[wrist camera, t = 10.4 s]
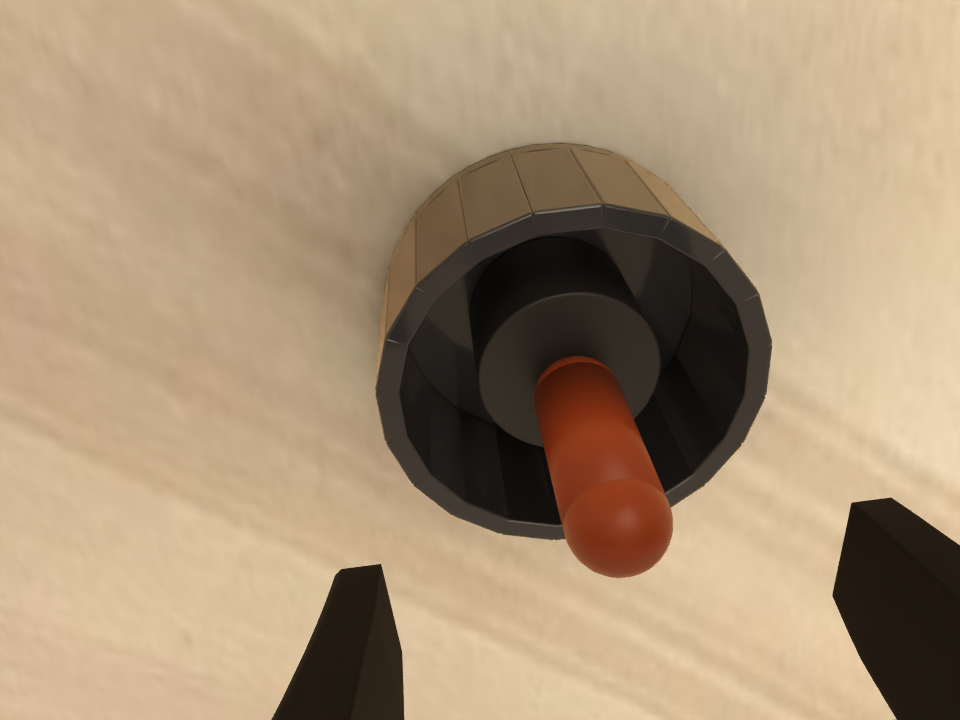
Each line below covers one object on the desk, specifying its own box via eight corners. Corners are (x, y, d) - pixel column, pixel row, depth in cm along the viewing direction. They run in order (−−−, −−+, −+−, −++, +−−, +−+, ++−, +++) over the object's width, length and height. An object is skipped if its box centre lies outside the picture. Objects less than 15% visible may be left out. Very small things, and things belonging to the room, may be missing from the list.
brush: (477, 388, 20) (512, 660, 13) (460, 247, 18) (490, 478, 11) (628, 369, 20) (746, 630, 13) (628, 227, 18) (770, 444, 11)
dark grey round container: (410, 449, 22) (409, 559, 18) (357, 165, 17) (341, 235, 14) (697, 414, 22) (752, 516, 18) (715, 122, 17) (793, 180, 14)
